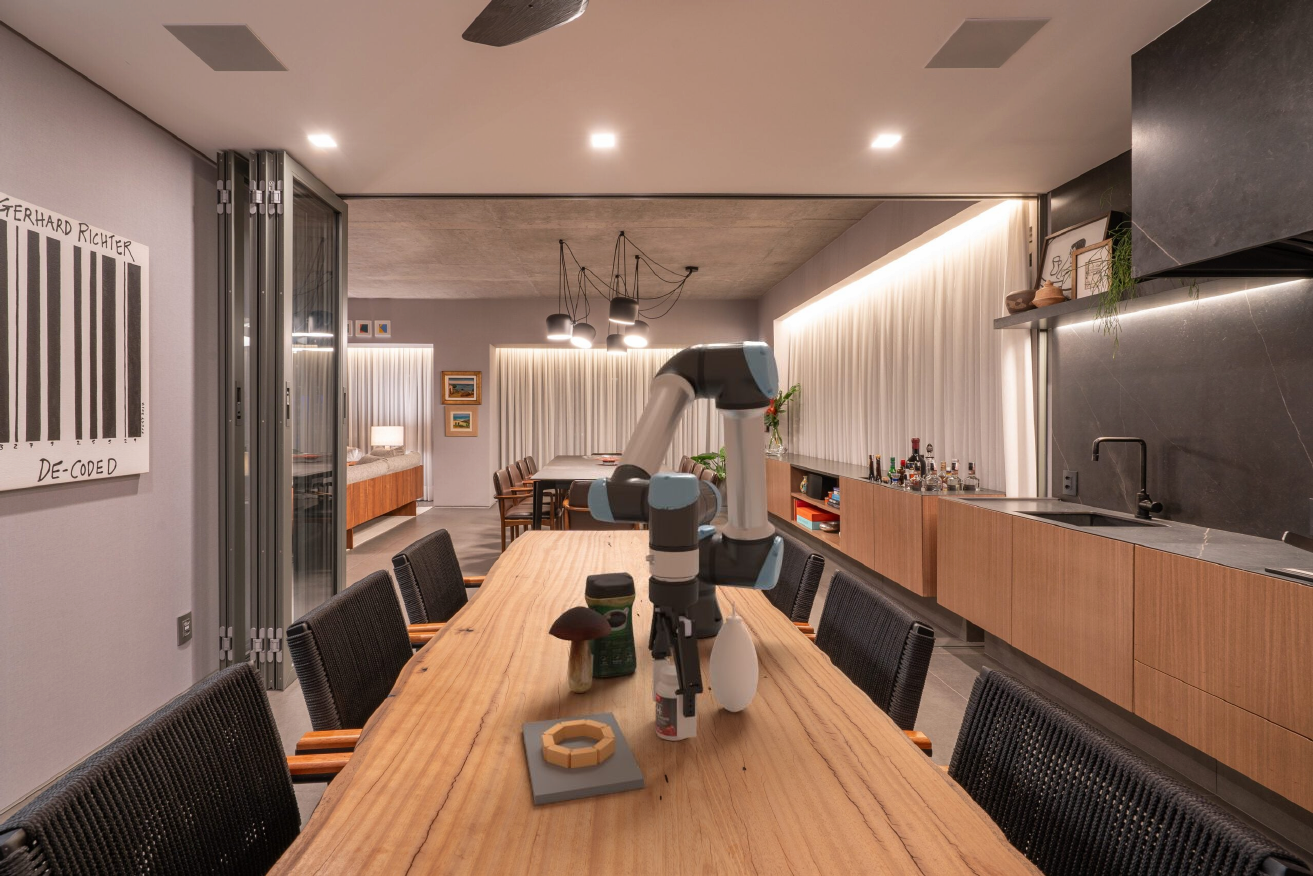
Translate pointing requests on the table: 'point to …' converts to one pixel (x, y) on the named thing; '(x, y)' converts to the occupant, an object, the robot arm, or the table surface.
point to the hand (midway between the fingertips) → (673, 717)
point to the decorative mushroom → (580, 642)
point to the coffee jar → (612, 623)
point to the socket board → (579, 758)
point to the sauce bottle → (733, 665)
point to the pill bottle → (667, 704)
